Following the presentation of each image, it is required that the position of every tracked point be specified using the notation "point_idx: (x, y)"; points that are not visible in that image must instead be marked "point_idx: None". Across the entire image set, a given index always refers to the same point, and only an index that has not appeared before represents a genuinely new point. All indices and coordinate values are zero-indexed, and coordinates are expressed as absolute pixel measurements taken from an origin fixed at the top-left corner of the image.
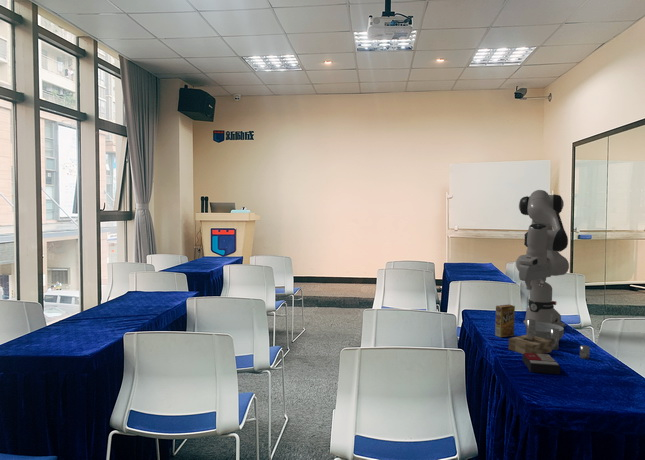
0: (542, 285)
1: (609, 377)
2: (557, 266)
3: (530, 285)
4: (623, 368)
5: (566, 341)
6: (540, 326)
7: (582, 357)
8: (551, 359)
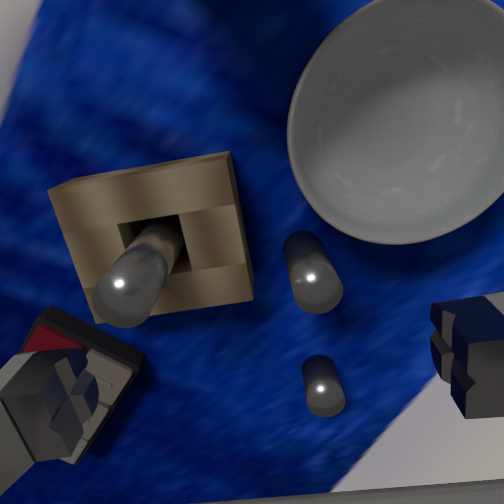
0: (456, 388)
1: (220, 497)
2: None
3: (11, 479)
4: (340, 470)
5: None
6: (479, 27)
7: (302, 375)
8: (87, 423)
